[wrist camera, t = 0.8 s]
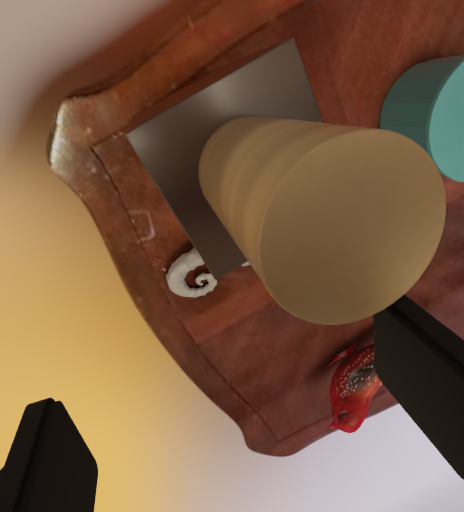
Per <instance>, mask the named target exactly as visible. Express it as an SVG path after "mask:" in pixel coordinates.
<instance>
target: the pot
mask: <svg viewBox="0 0 464 512" xmlns="http://www.w3.org/2000/svg"><path fill="white" fill-rule="evenodd" d="M462 59H464V55H457V56H451V57H444V58H437V59H431V60H428V61H425V62H421V63H418V64H416V65H414V66H412V67H411V68H409V69H408V70H406V71H405V72H404V73H403V74H402V75H401V76H400V77H399V78H398V79H397V80H396V81H395V83H394V84H393V85H392V87H391V89H390V90H389V92H388V94H387V96H386V98H385V101H384V103H383V106H382V110H381V116H380V129H383V130H389V131H393V132H396V133H400V134H402V135H404V136H406V137H408V138H410V139H412V140H413V141H414V142H416V143H417V144H419V145H420V146H421V147H422V148H423V149H424V150H425V151H426V152H427V153H428V150H427V145H426V123H427V118H428V113H429V110H430V107H431V104H432V101H433V99H434V96H435V94H436V92H437V90H438V88H439V87H440V85H441V83H442V82H443V80H444V79H445V77H446V76H447V75H448V74H449V72H450V71H451V70H452V69H453V68H454V67H455V66H456V65H457V64H458V63H459V62H460V61H461V60H462Z"/></svg>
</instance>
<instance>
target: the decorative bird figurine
mask: <svg viewBox="0 0 464 512" xmlns="http://www.w3.org/2000/svg"><path fill="white" fill-rule="evenodd" d="M356 343H357V342H356ZM356 343H355V344H354V346H352V345H350V346H349V347H348V348H347V349H345V350H344V351H342V352H340V353H339V354H337V355H336V356H335V358H334V360H333V361H332V362H331V363H330V364H329V365H328V366H330V365H331V364H332V363H333V362H334V361H338V360H340V359H341V358H342V357H344V356H347V357H346V358H345V359H344V360H343V361H342V362H341V363H340V365H339V366H338V367H337V369H336V371H335V373H334V375H333V377H332V381H331V385H330V399H331V404H332V414H333V417H334V421H333V423H332V424H331V425H330V426H329V427H330V428H336V429H340V430H342V431H344V432H347V433H352V432H355V431H356V430H357V429H358V428H359V427H360V426H361V424H362V422H363V421H364V419H365V417H366V415H367V411H368V407H369V403H370V400H371V399H372V397H373V396H374V394H375V393H376V391H377V390H378V389H379V387H380V386H381V385H382V384H383V383H382V382H381V381H380V379H379V378H378V376H377V374H376V372H375V367H374V344H372V345H369V346H366V347H363V348H360V349H355V350H352V349H353V348H354V347H355V346H356ZM350 347H351V348H350ZM351 350H352V351H351Z"/></svg>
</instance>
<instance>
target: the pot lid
mask: <svg viewBox="0 0 464 512" xmlns="http://www.w3.org/2000/svg"><path fill="white" fill-rule="evenodd" d="M426 145H427V150H428V154H429V155H430V157H431V158H432V160H433V161H434V163H435V164H436V166H437V168H438V170H439V172H440V173H441V174H442V175H444V176H445V177H447V178H449V179H451V180H455V181H459V182H464V59H462V60H461V61H460V62H459V63H458V64H457V65H456V66H455V67H454V68H453V69H452V70H451V71H450V72H449V74H448V75H447V76H446V77H445V79H444V80H443V82H442V83H441V85H440V87H439V88H438V90H437V92H436V94H435V96H434V99H433V101H432V104H431V107H430V110H429V113H428V118H427V123H426Z"/></svg>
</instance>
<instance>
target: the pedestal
mask: <svg viewBox="0 0 464 512" xmlns="http://www.w3.org/2000/svg"><path fill="white" fill-rule="evenodd" d="M246 115H258V116H267V117H276V118H285V119H294V120H303V121H312V122H321V123H324V122H323V119H322V116H321V113H320V111H319V108H318V105H317V102H316V99H315V96H314V94H313V91H312V88H311V85H310V82H309V79H308V77H307V74H306V71H305V68H304V65H303V62H302V60H301V57H300V54H299V51H298V48H297V45H296V43H295V40H294V38H293V37H291V38H289V39H286V40H284V41H282V42H279V43H277V44H275V45H272V46H270V47H268V48H265V49H263V50H261V51H258V52H256V53H254V54H251V55H249V56H247V57H244V58H242V59H240V60H237V61H235V62H233V63H230V64H228V65H226V66H223V67H221V68H219V69H216V70H214V71H212V72H209V73H207V74H206V75H204V76H202V77H200V78H199V79H197V80H195V81H194V82H192V83H190V84H188V85H187V86H185V87H183V88H181V89H180V90H178V91H176V92H174V93H173V94H171V95H169V96H167V97H166V98H164V99H162V100H160V101H159V102H157V103H155V104H153V105H152V106H150V107H148V108H146V109H145V110H143V111H141V112H139V113H138V114H136V115H134V116H133V117H132V119H131V121H130V124H129V126H128V128H127V130H126V132H125V136H126V138H127V140H128V141H129V143H130V145H131V146H132V148H133V149H134V151H135V153H136V154H137V156H138V157H139V159H140V161H141V162H142V164H143V165H144V167H145V169H146V170H147V172H148V173H149V175H150V177H151V178H152V180H153V181H154V183H155V185H156V186H157V188H158V189H159V191H160V193H161V194H162V196H163V197H164V199H165V201H166V202H167V204H168V205H169V207H170V209H171V210H172V212H173V213H174V215H175V217H176V218H177V220H178V221H179V223H180V225H181V226H182V228H183V229H184V231H185V233H186V234H187V236H188V237H189V239H190V241H191V242H192V244H193V245H194V247H195V249H196V250H197V252H198V253H199V255H200V257H201V258H202V260H203V261H204V263H205V265H206V266H207V268H208V269H209V271H210V273H211V274H212V276H213V277H214V279H215V280H217V279H218V278H220V277H222V276H224V275H225V274H227V273H229V272H230V271H232V270H234V269H236V268H237V267H239V266H241V265H243V264H244V263H246V262H248V260H247V259H246V258H245V256H244V255H243V253H242V252H241V250H240V249H239V247H238V246H237V244H236V243H235V241H234V240H233V238H232V237H231V235H230V234H229V233H228V231H227V230H226V228H225V227H224V225H223V224H222V222H221V221H220V219H219V218H218V216H217V215H216V213H215V212H214V210H213V209H212V208H211V206H210V205H209V203H208V202H207V200H206V199H205V197H204V195H203V192H202V190H201V186H200V182H199V172H198V171H199V162H200V157H201V154H202V151H203V149H204V147H205V144H206V143H207V141H208V140H209V138H210V137H211V135H212V134H213V133H214V132H215V131H216V130H217V129H218V128H219V127H220V126H222V125H223V124H225V123H226V122H228V121H230V120H232V119H234V118H238V117H241V116H246Z"/></svg>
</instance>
